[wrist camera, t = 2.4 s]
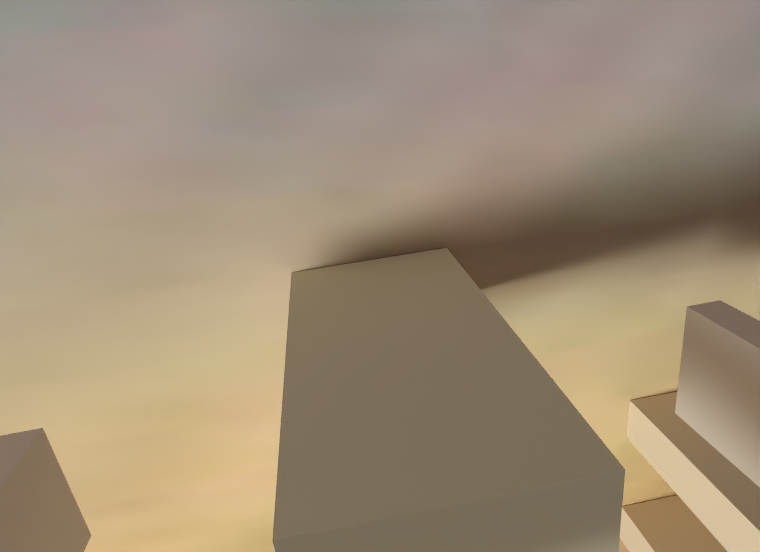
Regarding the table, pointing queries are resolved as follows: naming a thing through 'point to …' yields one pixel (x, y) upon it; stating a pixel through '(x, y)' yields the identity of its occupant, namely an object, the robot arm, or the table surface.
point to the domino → (428, 423)
